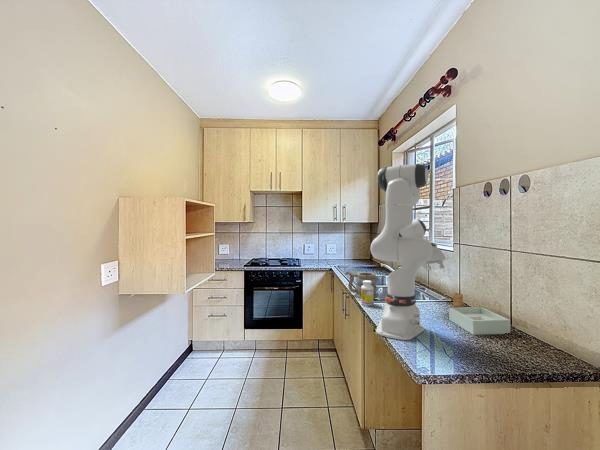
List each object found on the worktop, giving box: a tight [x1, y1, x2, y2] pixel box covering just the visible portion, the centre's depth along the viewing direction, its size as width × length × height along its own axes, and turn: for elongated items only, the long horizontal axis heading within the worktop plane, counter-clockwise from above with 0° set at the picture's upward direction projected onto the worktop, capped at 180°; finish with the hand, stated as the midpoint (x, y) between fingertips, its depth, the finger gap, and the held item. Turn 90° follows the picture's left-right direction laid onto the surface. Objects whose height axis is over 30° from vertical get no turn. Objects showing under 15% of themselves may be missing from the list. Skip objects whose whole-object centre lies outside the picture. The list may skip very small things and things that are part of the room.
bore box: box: [448, 306, 511, 336], centre depth 125 cm, size 18×15×6 cm
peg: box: [452, 293, 464, 308], centre depth 140 cm, size 4×4×10 cm
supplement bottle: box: [360, 280, 375, 307], centre depth 162 cm, size 7×7×13 cm
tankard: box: [344, 270, 379, 300], centre depth 180 cm, size 20×13×15 cm, turn 57°
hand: (436, 269), depth 152 cm, fingers open, 8 cm apart
